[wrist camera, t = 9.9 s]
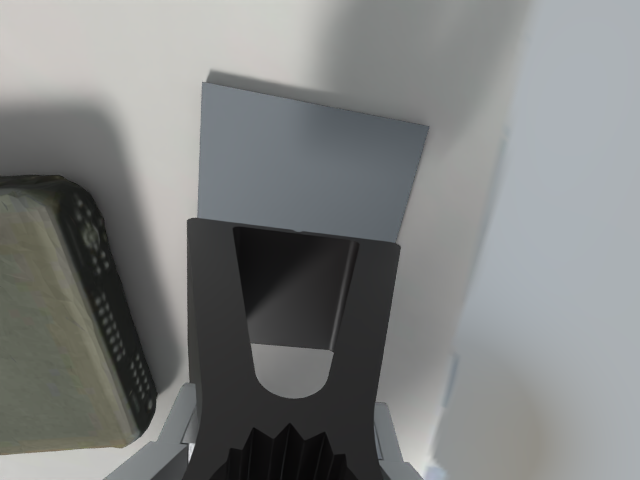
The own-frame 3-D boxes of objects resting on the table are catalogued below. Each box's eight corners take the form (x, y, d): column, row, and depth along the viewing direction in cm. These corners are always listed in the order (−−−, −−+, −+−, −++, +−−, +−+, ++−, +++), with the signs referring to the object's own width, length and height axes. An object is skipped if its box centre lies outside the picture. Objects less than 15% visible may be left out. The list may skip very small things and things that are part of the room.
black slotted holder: (398, 242, 14) (759, 741, 3) (369, 349, 16) (513, 862, 5) (190, 215, 13) (-431, 799, 2) (189, 332, 15) (-107, 917, 4)
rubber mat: (368, 326, 26) (369, 331, 26) (196, 304, 25) (194, 309, 24) (426, 125, 20) (429, 126, 20) (205, 82, 19) (202, 81, 18)
